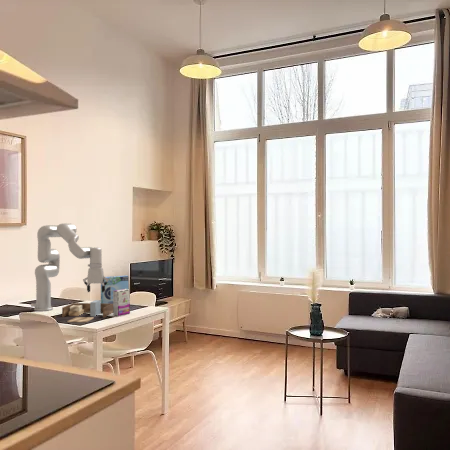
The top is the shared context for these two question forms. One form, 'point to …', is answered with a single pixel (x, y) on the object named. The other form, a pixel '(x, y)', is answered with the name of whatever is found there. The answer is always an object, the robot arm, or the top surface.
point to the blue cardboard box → (113, 287)
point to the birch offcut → (75, 308)
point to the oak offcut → (76, 313)
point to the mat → (81, 319)
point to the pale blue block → (95, 308)
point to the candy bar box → (121, 302)
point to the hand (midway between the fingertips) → (96, 291)
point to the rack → (105, 308)
